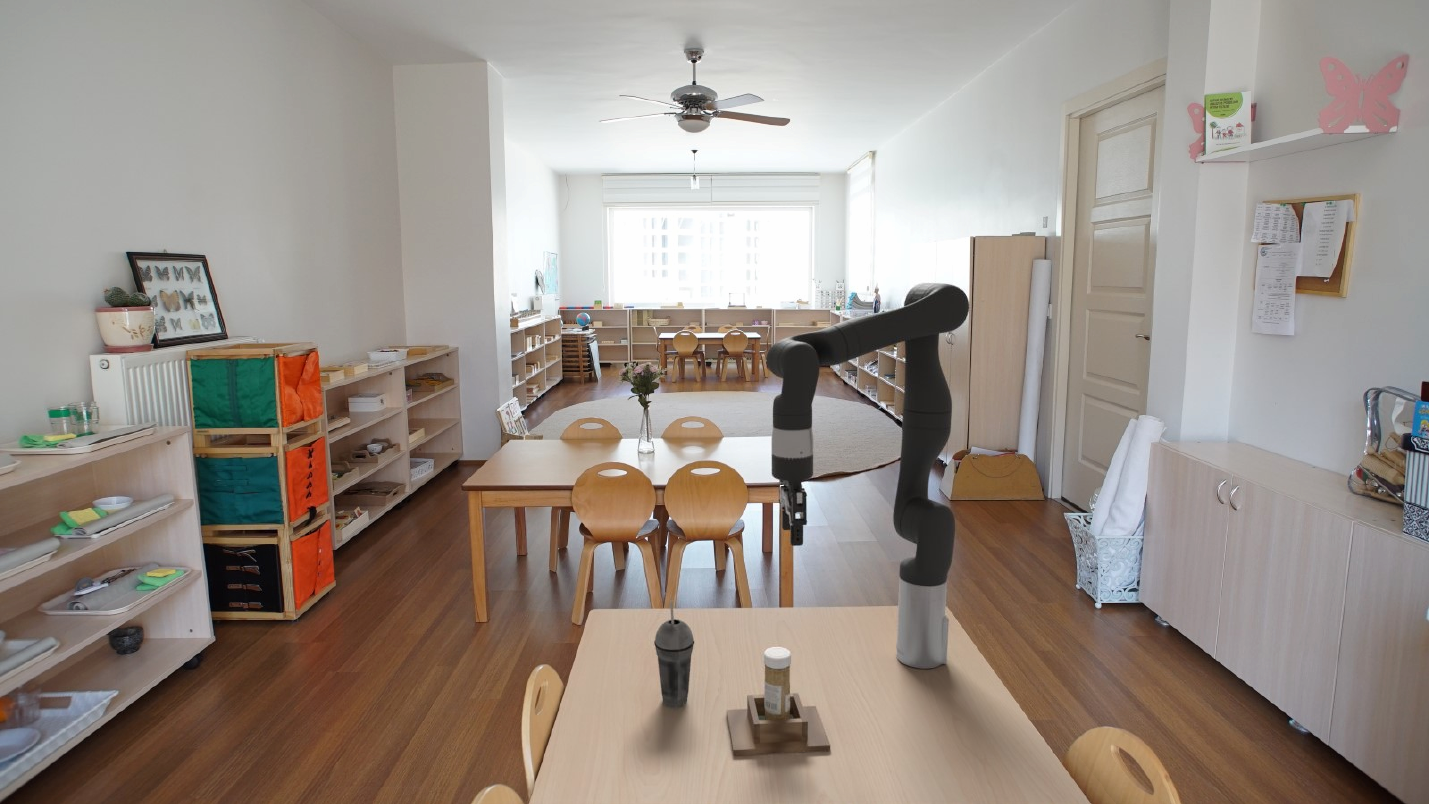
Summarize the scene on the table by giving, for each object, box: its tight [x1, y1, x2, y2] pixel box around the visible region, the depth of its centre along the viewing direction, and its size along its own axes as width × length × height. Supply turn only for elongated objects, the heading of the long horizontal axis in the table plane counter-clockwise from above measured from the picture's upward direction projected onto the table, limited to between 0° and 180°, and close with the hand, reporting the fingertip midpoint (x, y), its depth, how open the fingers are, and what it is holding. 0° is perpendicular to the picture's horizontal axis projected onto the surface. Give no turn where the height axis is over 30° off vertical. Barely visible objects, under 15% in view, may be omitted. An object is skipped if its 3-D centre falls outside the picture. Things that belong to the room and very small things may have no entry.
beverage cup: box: [653, 599, 695, 708], centre depth 146 cm, size 7×7×20 cm
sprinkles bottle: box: [763, 646, 792, 720], centre depth 136 cm, size 5×5×13 cm
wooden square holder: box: [726, 692, 831, 757], centre depth 137 cm, size 16×12×4 cm
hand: (792, 537), depth 148 cm, fingers open, 8 cm apart
